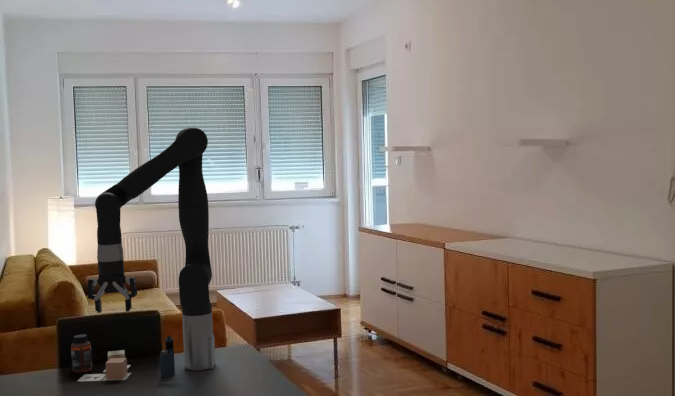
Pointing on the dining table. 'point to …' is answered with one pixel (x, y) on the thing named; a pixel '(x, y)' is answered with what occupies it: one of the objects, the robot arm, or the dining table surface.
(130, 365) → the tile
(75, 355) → the supplement bottle
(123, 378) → the sage pad
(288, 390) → the dining table surface
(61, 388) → the dining table surface
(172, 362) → the vaping device
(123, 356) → the maple block
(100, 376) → the tile
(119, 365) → the terracotta block
